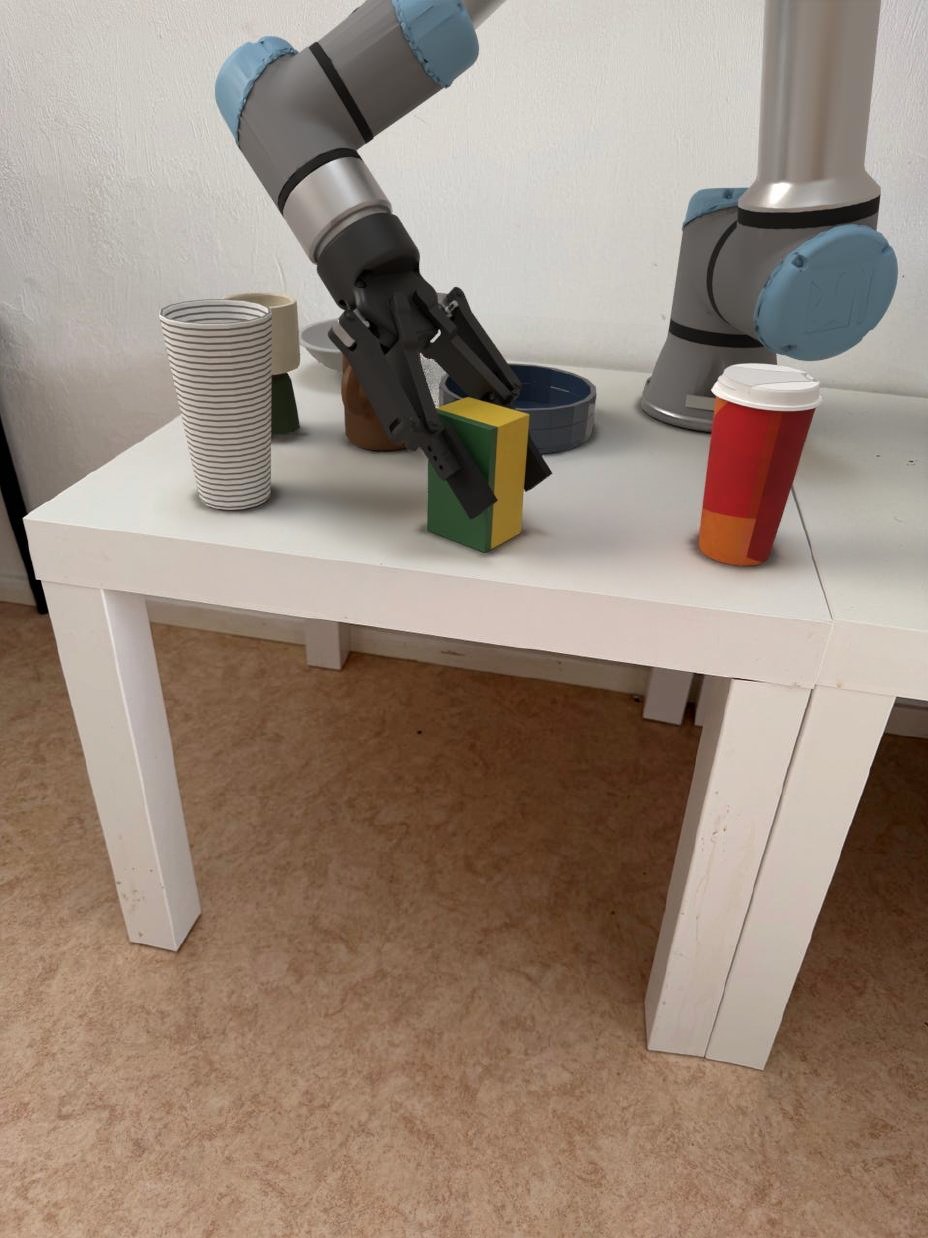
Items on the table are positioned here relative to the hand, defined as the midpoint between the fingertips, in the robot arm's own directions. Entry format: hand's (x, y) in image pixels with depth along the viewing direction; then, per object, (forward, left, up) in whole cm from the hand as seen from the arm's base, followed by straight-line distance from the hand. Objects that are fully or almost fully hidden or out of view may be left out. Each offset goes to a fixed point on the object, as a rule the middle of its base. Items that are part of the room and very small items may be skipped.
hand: (512, 495), depth 68 cm
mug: (0, -24, -4) cm, 25 cm away
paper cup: (-16, +9, -4) cm, 19 cm away
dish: (-9, -47, -4) cm, 48 cm away
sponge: (+1, -3, -4) cm, 6 cm away
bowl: (-16, -23, -4) cm, 28 cm away
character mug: (+8, -32, -4) cm, 34 cm away
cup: (+16, -18, -4) cm, 25 cm away
